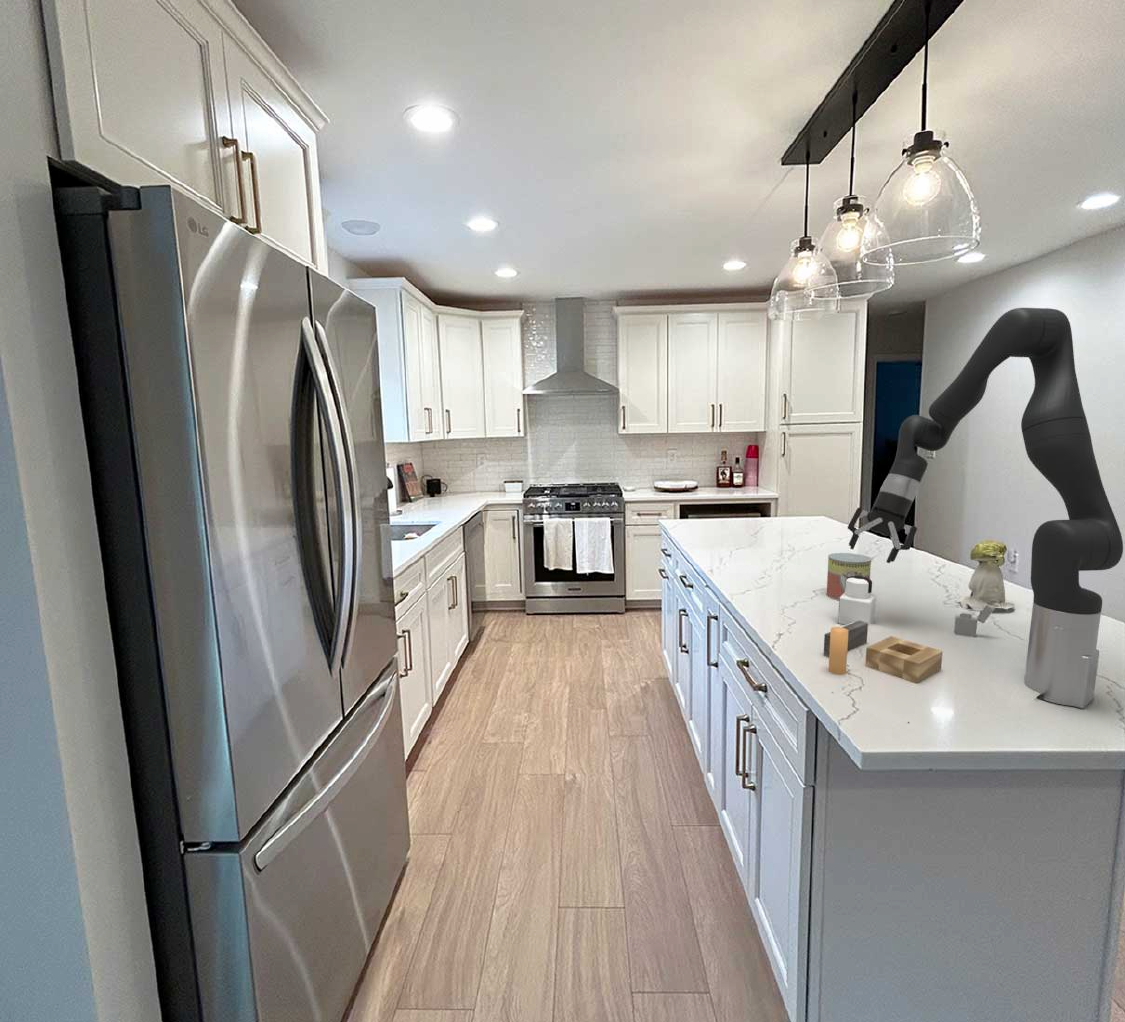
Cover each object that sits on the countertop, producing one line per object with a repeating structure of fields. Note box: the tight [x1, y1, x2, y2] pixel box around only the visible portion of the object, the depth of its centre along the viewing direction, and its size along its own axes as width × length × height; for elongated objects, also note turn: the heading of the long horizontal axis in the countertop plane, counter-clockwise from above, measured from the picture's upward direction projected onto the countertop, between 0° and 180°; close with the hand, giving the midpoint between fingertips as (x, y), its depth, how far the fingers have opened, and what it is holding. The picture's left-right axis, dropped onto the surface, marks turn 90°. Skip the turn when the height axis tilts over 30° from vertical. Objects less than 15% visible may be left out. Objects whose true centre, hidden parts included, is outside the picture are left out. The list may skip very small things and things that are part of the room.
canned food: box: [825, 552, 872, 602], centre depth 163 cm, size 11×11×12 cm
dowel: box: [828, 626, 848, 676], centre depth 112 cm, size 3×3×10 cm
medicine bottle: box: [837, 576, 877, 626], centre depth 141 cm, size 7×7×12 cm
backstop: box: [823, 621, 869, 658], centre depth 116 cm, size 20×14×6 cm
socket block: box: [865, 636, 944, 684], centre depth 113 cm, size 10×10×4 cm
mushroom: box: [955, 540, 1016, 612], centre depth 151 cm, size 12×13×18 cm
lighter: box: [953, 604, 995, 638], centre depth 132 cm, size 7×2×8 cm, turn 59°
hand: (869, 555), depth 138 cm, fingers open, 8 cm apart
